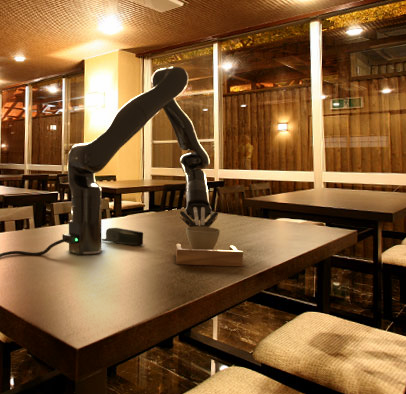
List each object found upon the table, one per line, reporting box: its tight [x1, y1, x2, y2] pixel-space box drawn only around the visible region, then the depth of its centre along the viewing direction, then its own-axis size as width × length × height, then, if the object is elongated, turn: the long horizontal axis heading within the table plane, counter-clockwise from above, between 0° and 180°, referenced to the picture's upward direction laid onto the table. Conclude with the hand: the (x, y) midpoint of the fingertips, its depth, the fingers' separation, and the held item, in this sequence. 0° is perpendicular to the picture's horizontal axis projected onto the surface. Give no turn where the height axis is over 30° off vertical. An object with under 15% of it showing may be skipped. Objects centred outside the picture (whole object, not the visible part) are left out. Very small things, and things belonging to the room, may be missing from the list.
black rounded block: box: [101, 227, 144, 247], centre depth 135 cm, size 5×3×15 cm
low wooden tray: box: [175, 243, 244, 267], centre depth 111 cm, size 10×17×4 cm, turn 82°
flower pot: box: [185, 226, 221, 250], centre depth 122 cm, size 10×10×7 cm
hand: (200, 237), depth 127 cm, fingers closed
